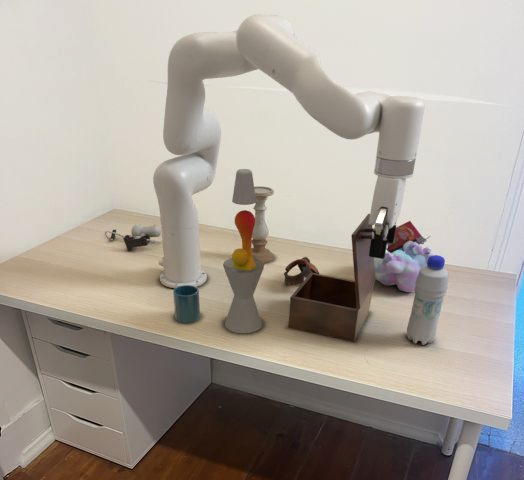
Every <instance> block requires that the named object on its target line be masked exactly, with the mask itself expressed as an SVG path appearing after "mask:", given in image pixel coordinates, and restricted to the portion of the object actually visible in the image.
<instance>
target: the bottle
mask: <svg viewBox="0 0 524 480" xmlns="http://www.w3.org/2000/svg"><path fill="white" fill-rule="evenodd" d="M445 263H446V260H445V257H443V256H442V255H438V254H433V256H430V257H429V259H428V262H427V266H424V267H422V268H421V269H420V270H419V273H418V276H417V279H416V281H415V290H414V296H413V302H412V306H411V311H410V312H411V313H410V316H409V320H408V323H407V327H406V336H407V339H408V340H409V341H412V342H413V344H418V342H421V345H423V346H424V345H426V344H431V343H432V342H433V341H434V340H435V337H436V335H437V332H438V324H439V318H440V313H441V309H442V305H443V300H444V297H445V296H446V294H447V290H448V288H449V276H450V275H449V270H447V269H446V268H444V267H445Z"/></svg>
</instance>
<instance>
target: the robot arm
mask: <svg viewBox="0 0 524 480" xmlns="http://www.w3.org/2000/svg"><path fill="white" fill-rule="evenodd" d="M167 59H168V60H167V87H166V88H167V89H166V98H165V106H164V118H163V119H164V120H163V131H162V139H163V144H164V146H165V149H166V150H167V151H168V152H170V154H172V155H175V157H172V158H169V159H167V160H164V161H163V162H161V163H160V164H158V166H157V167H156V169H155V170H154V173H153V175H152V182H153V188H154V191H155V195H156V199H157V203H158V209H159V216H160V226H161V227H160V229H161V238H162V239H161V241H162V253H163V256H162V260H159V261H158V265H159V266H161V267H162V269H163V270H162V272H161V273H160V275H159V281H160V283H161V284H162V285H163V286H165V287H167V288H170V289H175V288H176V287H179V286H183V285H191V286H195V287H197V288H198V287H200V286H202V285H203V284H204V283H205V282H206V281H207V278H208V277H207V273H206V272H205V271H204V270H203V269H201V250H200V249H201V248H200V246H201V245H200V228H199V227H200V225H199V214H198V213H199V212H198V209H197V207H196V204H195V202H194V199H193V196H194V195H195V194H198V193H200V192H202V191H204V190H206V189H208V188H209V187H210V186H211V185H212V184H213V182H214V180H215V176H216V171H217V166H218V159H219V153H220V147H221V139H222V129H221V124H220V121H219V119H218V117H217V115H216V114H215V113H214V111H212V110H211V109H209V108H206V107H205V104H206V88H205V84H204V80H210V79H222V78H232V77H236V76H240V75H245V74H247V73H250V72H253V71H257V70H259V71H261V72H262V73H263V74H265V75H267V76H268V77H269V78H271V79H272V80H274V81H275V82H276V83H278V84H279V85H280V86H281V87H283V88H285V89H286V90H287V91H289V92H290V93H292V95H293V96H294V98H295V99H296V101H297V102H298V104H299V105H300V106H301V107H302V108H303V110H304V111H305V112H306V113H307V114H308V115H309V116H310V117H311V118H312V119H314V120H315V121H316V122H317V123H318V124H321V125H322V126H323V127H324V128H326V129H327V130H329V131H330V132H331V133H332V134H335V135H336V136H339V137H340V138H343V139H346V140H352V141H353V140H357V139H361V138H363V137H365V136H367V135H370V134H374V133H378V140H377V147H376V154H375V155H376V156H375V163H374V170H373V174H374V175H375V176H377V178H376V182H375V186H374V190H373V196H372V202H371V207H370V212H369V214H370V218H369V225H370V226H372V227H373V226H374V227H373V228H374V230H373V234H372V238H371V244H370V251H369V256H370V257H375V258H380V259H384V257H385V253H386V247H387V243H393V242H394V237H395V231H396V227H397V225H396V224H397V221H398V220H399V218H400V214H401V210H402V207H403V201H404V196H405V191H406V183H407V179H411V178H413V176H414V170H415V165H416V161H417V160H416V159H417V153H418V148H419V142H420V136H421V131H422V125H423V119H424V113H425V102H424V101H423V99H422V98H420V97H417V96H411V95H410V96H409V95H390V94H389V95H388V94H385V93H381V92H376V91H371V90H369V91H367V90H366V91H362V92H357V93H353V92H351V91H350V90H348V89H347V88H346V87H344V86H342V85H341V84H340V83H338V82H337V81H335V80H334V78H332V77H331V76H330V75H329V74H328V73H327V72H326V71H325V70H324V68H323V67H322V64H321V56H320V54H319V52H318V51H317V50H315V48H313V47H312V46H311V45H309V44H307V43H306V42H304V41H303V40H301V39H300V38H298V37H297V36H296V33H295V30H294V28H293V26H292V24H291V23H290V22H289V21H288V20H287V19H286V18H284V17H283V16H280V15H277V14H265V13H264V14H262V13H260V14H258V13H257V14H252V15H250V16H248V17H246V18H245V19H244V20H243V21H242V22H241V23H240V25H239V26H238V28H237V30H236V29H235V30H234V31H222V32H221V31H220V32H219V31H202V32H194V33H190V34H187V35H185V36H182V37H181V38H180V39H178V40H177V41H176V42H175V43H174V45H173V46H172V47H171V49H170V51H169V55H168V58H167ZM383 229H385V232H384V230H383Z"/></svg>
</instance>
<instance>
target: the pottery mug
mask: <svg viewBox="0 0 524 480" xmlns="http://www.w3.org/2000/svg"><path fill="white" fill-rule="evenodd" d="M295 267H298V269H299V271H300V272H299V273H298V274H294V275H289V272H290V271H292V269H294V268H295ZM284 270H285V271H284V273H283V276H284V284H285V285H286V286H287V285H288V286H297V285H301V284H302V283H303V281H304V280H305V279H306V278H307V277H308V275H309V274H310V273H316V274H320V271H319V269H318V268H317V267H316V265H315V264H313V263H311V260H310V258H309V257H307V256H303V257H302V258H298V259H295V260H293V261H291V262H290V263H289V264H287V266H285V269H284Z"/></svg>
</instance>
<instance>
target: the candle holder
mask: <svg viewBox="0 0 524 480" xmlns="http://www.w3.org/2000/svg"><path fill="white" fill-rule="evenodd" d="M254 190H255V197H256V203H254V205H253V208H252V209H253V210H254V217H255V225H254V229H253V234H252V246H253V247H251V248H252V256H253V258H256V259H259V260H261V261H262V262H263V263H264V264H266V263H270V262H272V261H273V260H274V257H275V256H274V255H275V254H274V253H273V252H272V251H271V250H270V249H269V248H267V247H266V246H267V244H268V240H267V238H268V237H269V235H270V232H269V227H268V225H267V222H266V216H265V215H266V213H265V212H266V210H267V209H268V208H267V205H266V201H267V200H268V197H271V196H273V195H274V193H275V191H274V189H273V188H271V187H269V186H259V185H257V186H254Z"/></svg>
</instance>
